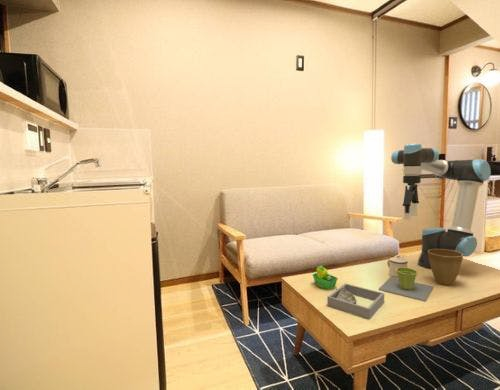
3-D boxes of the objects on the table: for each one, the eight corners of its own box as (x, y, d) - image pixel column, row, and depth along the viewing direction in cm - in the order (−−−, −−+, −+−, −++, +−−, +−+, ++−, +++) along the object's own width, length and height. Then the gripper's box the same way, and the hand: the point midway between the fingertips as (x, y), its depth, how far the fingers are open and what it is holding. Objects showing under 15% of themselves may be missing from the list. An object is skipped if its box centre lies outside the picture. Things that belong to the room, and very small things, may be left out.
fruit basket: (338, 287, 142) (338, 266, 141) (326, 292, 138) (326, 269, 137) (322, 280, 152) (322, 260, 151) (309, 284, 147) (309, 263, 146)
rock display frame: (345, 291, 138) (345, 283, 137) (384, 301, 126) (384, 293, 125) (327, 305, 124) (327, 296, 123) (369, 319, 112) (369, 309, 111)
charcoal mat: (390, 277, 153) (390, 276, 153) (433, 287, 140) (433, 286, 140) (378, 289, 138) (378, 288, 138) (425, 301, 125) (425, 300, 125)
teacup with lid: (411, 277, 153) (411, 256, 152) (398, 279, 151) (398, 258, 150) (393, 270, 165) (394, 250, 164) (381, 272, 162) (381, 252, 161)
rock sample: (326, 294, 126) (340, 281, 126) (331, 300, 131) (345, 287, 131) (342, 312, 118) (358, 298, 118) (347, 318, 123) (362, 304, 124)
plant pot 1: (421, 289, 136) (422, 272, 136) (407, 293, 133) (408, 275, 132) (404, 282, 145) (405, 266, 144) (391, 285, 142) (391, 269, 141)
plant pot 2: (460, 280, 147) (462, 250, 146) (462, 290, 135) (464, 258, 134) (427, 275, 156) (428, 247, 154) (426, 284, 143) (427, 253, 142)
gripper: (409, 174, 151) (408, 213, 152) (396, 176, 132) (395, 220, 134) (425, 174, 146) (424, 215, 147) (414, 175, 127) (413, 222, 129)
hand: (410, 217), depth 141 cm, fingers open, 13 cm apart
